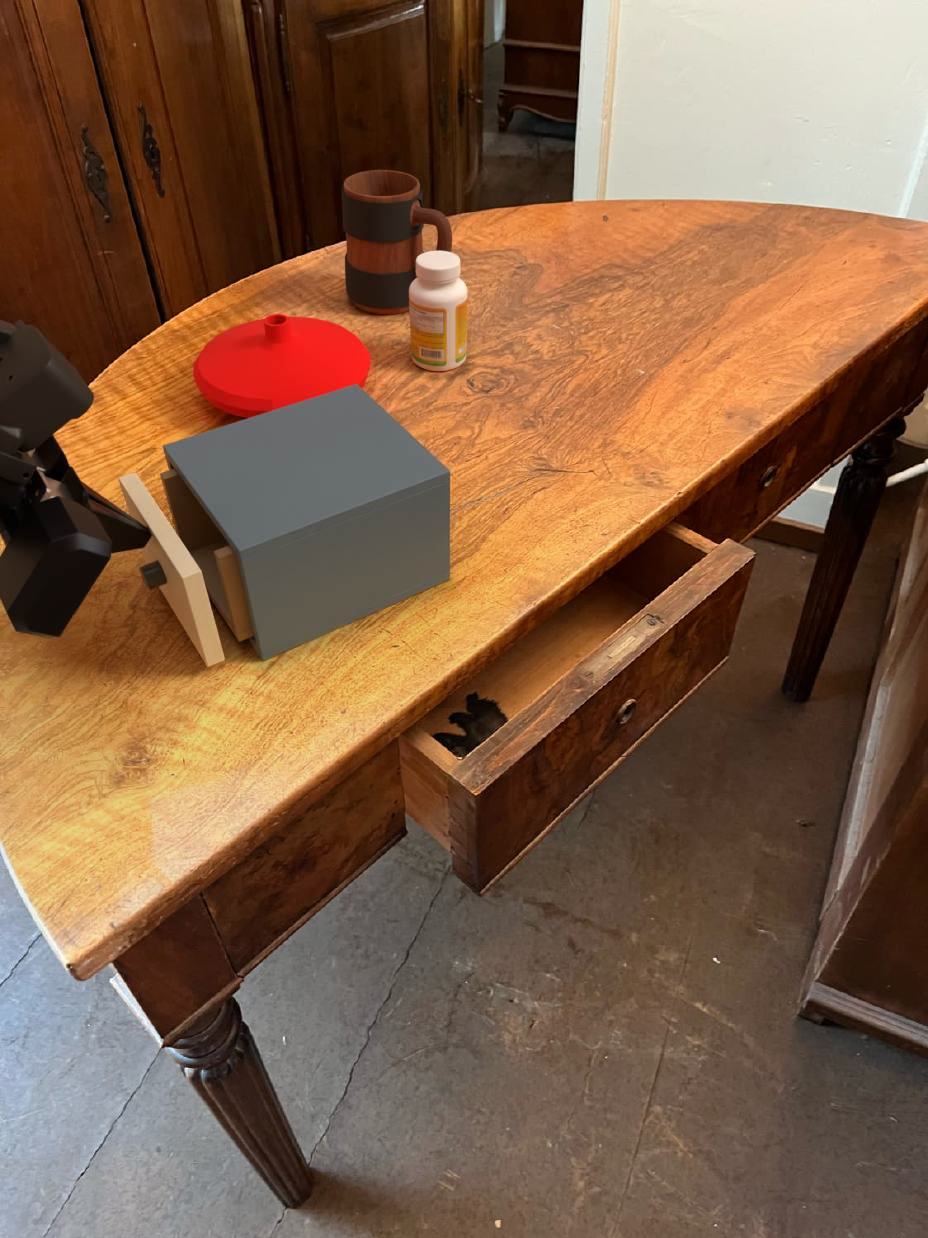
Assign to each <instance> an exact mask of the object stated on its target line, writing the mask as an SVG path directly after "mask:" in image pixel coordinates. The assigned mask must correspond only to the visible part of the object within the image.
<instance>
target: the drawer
mask: <svg viewBox="0 0 928 1238" xmlns="http://www.w3.org/2000/svg"><path fill="white" fill-rule="evenodd" d="M159 476H160V480H161V483H162V488H163V490H164V494H165V497H166V501H167V505H168V508H169V512H170V516H171V519H172V523H173V525H171V523H170V521H169V520H168V518H167V517H166V516H165V514H164V512H163V511H162V510H161V508H160V506H159V505H158V503H157V502H156V501H155V499H154V497H153V496H152V494H151V492H150V491H149V490H148V488H147V487H146V486H145V484H144V483H143V481H142V479H141V478H140V477H139V474H137V472H131V473H128V474H126V475H123V476H120V477H118V478H117V479H118V483H119V486H120V489H121V492H122V496H123V498H124V502H125V504H126V507H127V511H128V514H129V515H130V516H132V517H133V518H134V519H136V520H137V521H139V522H140V523H142V524H143V525H144V526H146V527H147V528H148V530H149V531H150V533H151V535H152V537H151V539H150V540H149V542H148V543H147V545H146V546H145V547H144V548H141V549H140V551H141V554H142V557H143V559H144V564H143V565H140V566H138V570H139V573H140V576H141V578H142V581H143V582H144V584H145V587H146V588H147V590H148V591H151V590H154V589H157V588H159V590H160V591H161V593H162V595H163V596H164V598H165V599H166V601H167V603H168V604H169V606H170V608H171V610H172V611H173V612H174V615H175V616H176V617H177V620H178V621H179V623H180V624H181V626H182V627H183V629H184V631H185V632H186V634H187V636H188V637H189V639H190V641H191V642H192V644H193V646H194V647H195V649H196V651H197V652H198V654H199V655H200V657H201V659H202V660H203V662H204V664H205V665H206V667H207V668H210V667H212V666H214V665H216V664H219V663H221V662H223V661H225V660H226V659H225V655H224V654H225V653H224V651H223V647H222V643H221V639H220V636H219V635H220V634H219V631H218V628H217V624H216V621H215V617H214V613H213V609H212V606H211V602H210V600H211V601H212V603H213V605H214V606H215V607H216V609H217V610H218V612H219V614H220V615H221V617H222V618H223V620H224V621H225V623H226V624H227V626H228V627H229V628H230V630H231V632H232V634H233V635H234V636H235V638H236V639H237V641H238V642H243V641H244V640H248V638H250V637H252V636H254V632H253V627H252V623H251V618H250V614H249V609H248V605H247V600H246V596H245V591H244V587H243V583H242V578H241V574H240V569H239V565H238V560H237V556H236V553H235V551H234V550H233V549H232V547H231V546H230V544H229V543H228V542H227V540H226V539H225V538H224V536H223V535H222V533H221V532H220V531H219V529H218V528H217V526H216V525H215V524H214V522H213V521H212V520H211V518H210V517H209V515H208V514H207V513H206V511H205V510H204V508H203V507H202V506H201V504H200V503H199V501H198V500H197V499H196V497H195V496H194V495H193V493H192V492H191V490H190V489H189V488H188V486H187V485H186V483H185V482H184V481H183V479H182V478H181V477H180V475H179V474H178V472H177V471H176V470H175V469H172V470H169V469H168V470H166V471H163V472H160V473H159Z"/></svg>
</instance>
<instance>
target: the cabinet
mask: <svg viewBox="0 0 928 1238" xmlns="http://www.w3.org/2000/svg"><path fill="white" fill-rule="evenodd" d="M162 449H163V453H164V456H165V460H166V465H167V468H168V471H169V470H172V469H175V470H176V471H177V472H178V474H179V475H180V477H181V478H182V479H183V481H184V482H185V483H186V485H187V486H188V488H189V489H190V490H191V492H192V493H193V495H194V496H195V497H196V499H197V500H198V501H199V503H200V504H201V506H202V507H203V508H204V510H205V511H206V513H207V514H208V515H209V517H210V518H211V520H212V521H213V522H214V524H215V525H216V526H217V528H218V529H219V531H220V532H221V533H222V535H223V536H224V538H225V539H226V540H227V542H228V543H229V544H230V546H231V547H232V549H233V550H234V551H235V553H236V556H237V560H238V565H239V569H240V574H241V578H242V583H243V587H244V591H245V596H246V600H247V605H248V609H249V614H250V618H251V623H252V627H253V632H254V636H252V637H250V638H247V640H248V641H249V642H250V643H251V645H252V646H253V648H254V650H255V651H256V652H257V655H259V657H260V659H261V660H262V661H263V662H265V661H267V660H269V659H271V658H274V657H276V656H279V655H281V654H284V653H286V652H288V651H290V650H292V649H295V648H296V647H300V646H301V645H304V644H307V643H308V642H311V641H313V640H316V639H317V638H319V637H322V636H324V635H326V634H329V633H331V632H334V631H336V630H338V629H341V628H343V627H345V626H347V625H349V624H352V623H354V622H357V621H359V620H361V619H363V618H365V617H367V616H370V615H373V614H375V613H377V612H380V611H382V610H384V609H387V608H389V607H391V606H393V605H396V604H398V603H399V602H402V601H404V600H407V599H409V598H411V597H414V596H416V595H418V594H421V593H424V592H425V591H427V590H429V589H432V588H434V587H436V586H438V585H442V584H443V583H446V582H449V581H450V580H451V572H450V571H451V470H450V469H449V468H448V467H447V466H445V465H444V463H442V462H441V460H439V459H438V458H437V457H436V456H435V455H434V454H433V453H432V452H431V451H429V449H427V448H426V447H425V446H424V445H423V444H422V443H421V442H420V441H419V440H418V439H417V438H416V437H415V436H413V435H412V434H411V432H409V431H408V430H407V429H406V428H405V427H404V426H402V425H401V423H400V422H399V421H398V420H396V419H395V418H394V417H393V416H392V415H391V414H390V413H388V411H386V410H385V409H384V408H383V407H382V406H381V404H379V403H378V402H377V401H376V400H375V399H374V398H373V397H371V396H370V395H369V394H368V393H367V392H366V391H365V390H364V389H363V387H362V388H360V387H359V386H358V385H357V384H355V385H352V386H348V387H345V388H342V389H339V390H336V391H333V392H330V393H326V394H323V395H320V396H317V397H314V398H311V399H307V400H304V401H301V402H298V403H295V404H292V405H289V406H285V407H282V408H279V409H276V410H273V411H270V412H267V413H263V414H260V415H257V416H254V417H251V418H245V419H241V420H238V421H236V422H235V421H234V422H232V423H228V424H226V425H223V426H222V425H221V426H220V427H219V426H218V427H216V428H213V429H210V430H207V431H204V432H201V433H198V434H194V435H191V436H188V437H185V438H181V439H179V440H176V441H172V442H169V443H167V444H166V443H165V444H163V445H162Z"/></svg>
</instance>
